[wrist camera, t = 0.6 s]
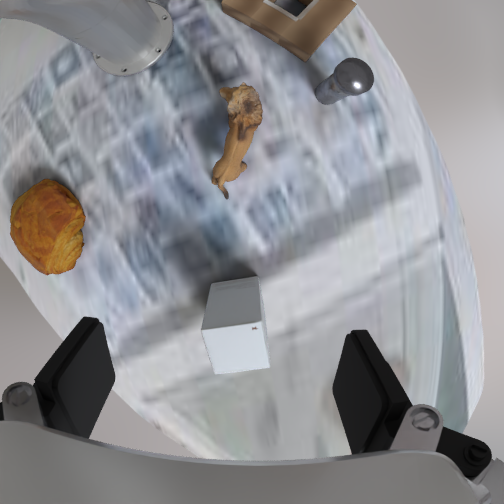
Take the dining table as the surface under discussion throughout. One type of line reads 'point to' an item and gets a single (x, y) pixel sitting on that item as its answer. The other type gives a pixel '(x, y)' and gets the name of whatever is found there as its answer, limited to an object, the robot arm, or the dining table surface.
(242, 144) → the lion figurine
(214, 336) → the supplement box
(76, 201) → the croissant
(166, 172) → the dining table surface
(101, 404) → the robot arm
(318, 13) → the block
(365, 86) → the key peg
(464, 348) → the dining table surface
